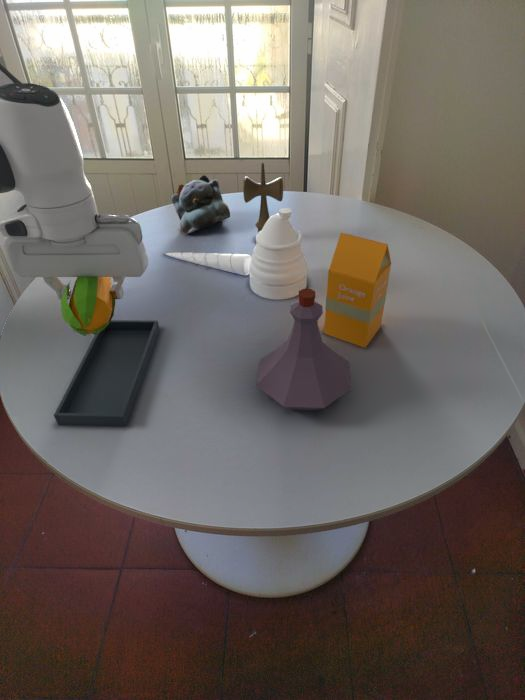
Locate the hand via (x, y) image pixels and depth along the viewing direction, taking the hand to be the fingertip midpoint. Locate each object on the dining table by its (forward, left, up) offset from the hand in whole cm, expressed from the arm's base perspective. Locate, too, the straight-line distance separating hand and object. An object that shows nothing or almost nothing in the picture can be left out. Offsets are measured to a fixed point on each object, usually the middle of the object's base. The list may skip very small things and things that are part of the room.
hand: (91, 297), depth 75 cm
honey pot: (+29, +29, -16) cm, 45 cm away
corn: (0, 0, -3) cm, 3 cm away
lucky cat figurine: (+7, +59, -16) cm, 62 cm away
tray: (0, -1, -16) cm, 16 cm away
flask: (+34, -5, -16) cm, 38 cm away
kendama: (+25, +50, -16) cm, 59 cm away
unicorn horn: (+12, +37, -16) cm, 43 cm away
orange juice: (+44, +12, -16) cm, 49 cm away
